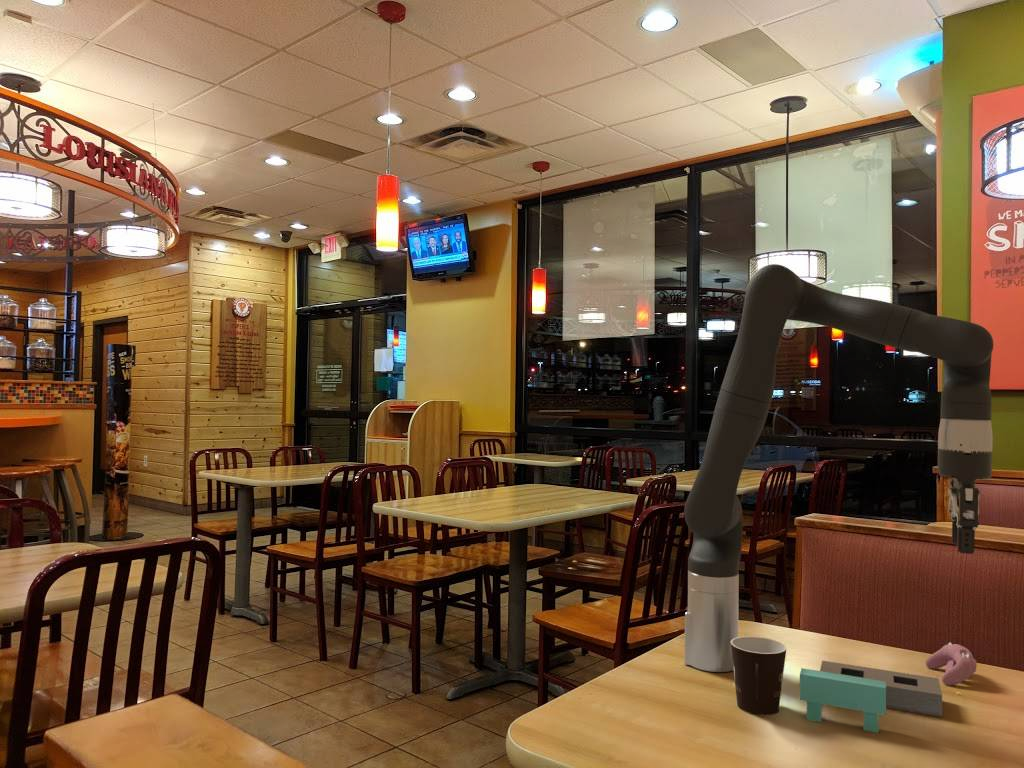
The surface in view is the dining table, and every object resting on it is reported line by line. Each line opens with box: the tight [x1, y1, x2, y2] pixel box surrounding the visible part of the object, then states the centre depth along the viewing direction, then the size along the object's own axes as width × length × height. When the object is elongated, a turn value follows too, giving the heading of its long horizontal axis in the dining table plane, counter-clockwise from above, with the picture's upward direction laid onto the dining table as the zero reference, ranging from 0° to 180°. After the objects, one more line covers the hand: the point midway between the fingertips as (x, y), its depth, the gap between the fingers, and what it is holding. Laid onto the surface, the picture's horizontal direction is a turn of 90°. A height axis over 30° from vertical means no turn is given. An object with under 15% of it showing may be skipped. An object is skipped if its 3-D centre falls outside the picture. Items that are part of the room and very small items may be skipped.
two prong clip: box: [799, 667, 887, 734], centre depth 115 cm, size 12×3×7 cm, turn 64°
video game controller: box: [925, 642, 978, 686], centre depth 135 cm, size 10×5×7 cm, turn 169°
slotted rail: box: [819, 660, 943, 718], centre depth 125 cm, size 18×8×4 cm, turn 64°
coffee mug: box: [731, 635, 787, 716], centre depth 120 cm, size 12×9×10 cm
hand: (962, 548), depth 120 cm, fingers open, 8 cm apart
